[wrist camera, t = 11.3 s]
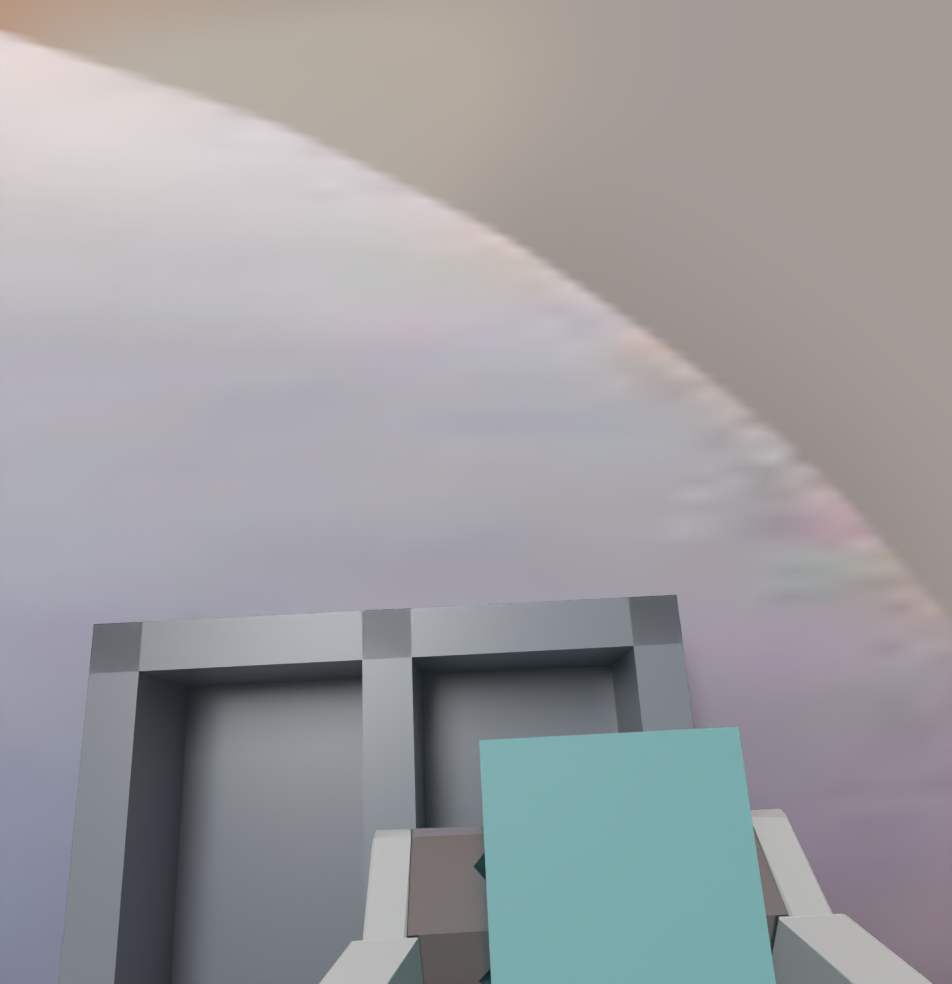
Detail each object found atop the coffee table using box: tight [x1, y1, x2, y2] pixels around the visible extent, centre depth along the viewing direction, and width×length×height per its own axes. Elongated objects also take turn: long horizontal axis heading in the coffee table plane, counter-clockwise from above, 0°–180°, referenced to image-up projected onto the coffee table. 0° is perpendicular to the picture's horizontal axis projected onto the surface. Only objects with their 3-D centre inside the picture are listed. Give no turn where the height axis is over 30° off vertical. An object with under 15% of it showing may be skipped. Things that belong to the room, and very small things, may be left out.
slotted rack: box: [59, 595, 694, 984], centre depth 17 cm, size 12×10×4 cm
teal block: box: [479, 727, 776, 984], centre depth 12 cm, size 2×4×10 cm, turn 3°
